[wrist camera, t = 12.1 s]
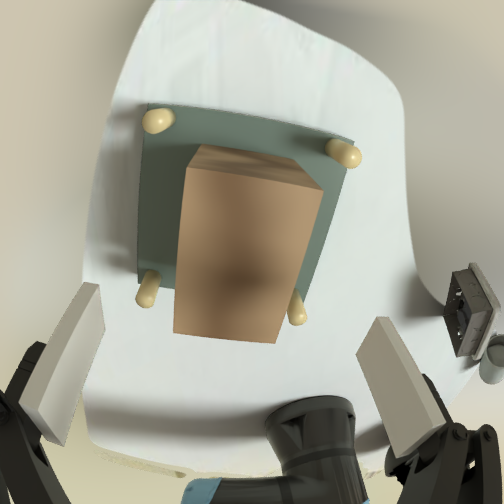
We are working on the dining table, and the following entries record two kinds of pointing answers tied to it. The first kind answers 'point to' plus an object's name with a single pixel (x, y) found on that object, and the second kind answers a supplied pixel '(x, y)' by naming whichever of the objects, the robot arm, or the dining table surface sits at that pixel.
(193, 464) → the dining table surface
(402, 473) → the bowl of black rocks
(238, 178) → the walnut block
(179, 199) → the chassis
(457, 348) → the electrical switch
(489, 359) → the ceramic mug
